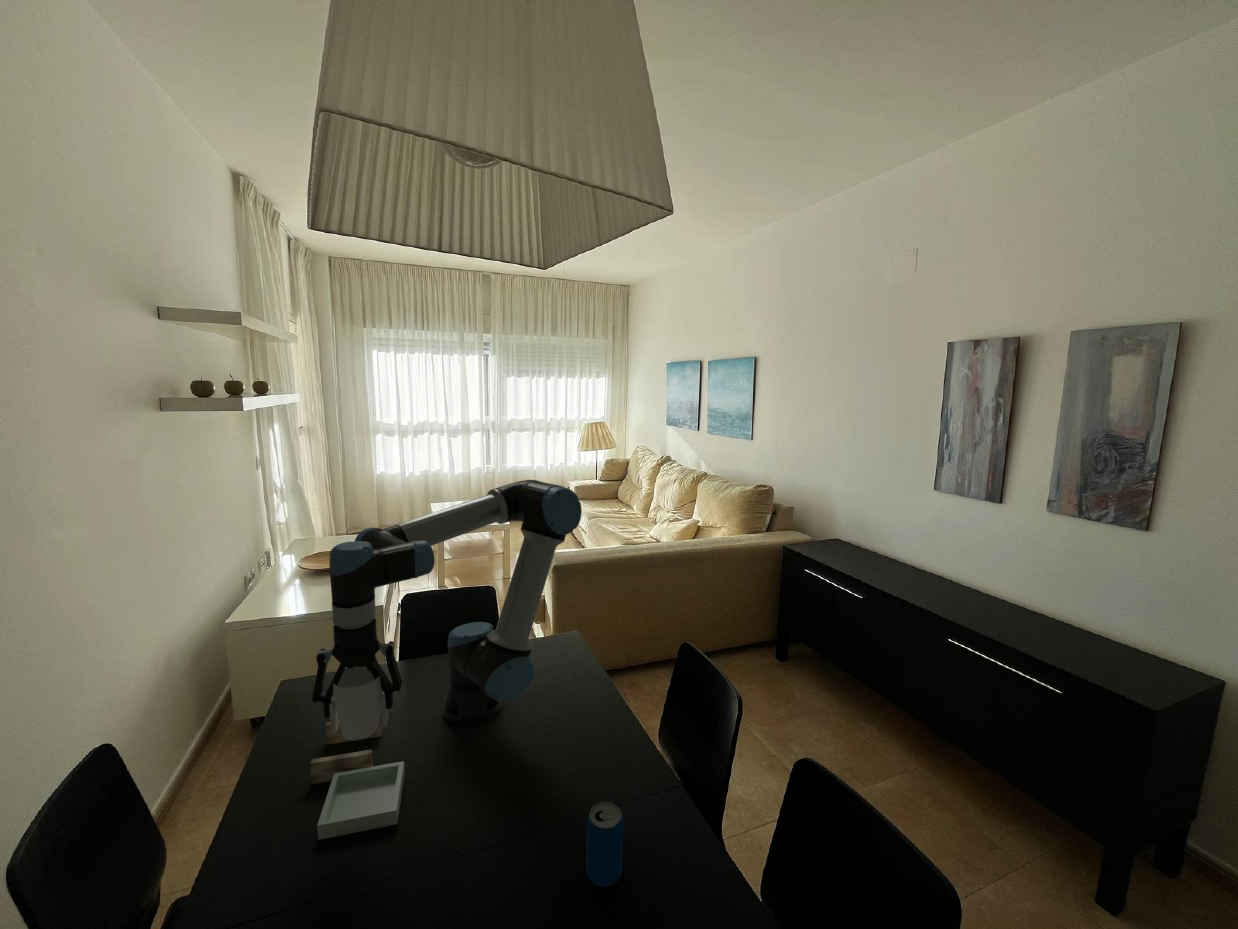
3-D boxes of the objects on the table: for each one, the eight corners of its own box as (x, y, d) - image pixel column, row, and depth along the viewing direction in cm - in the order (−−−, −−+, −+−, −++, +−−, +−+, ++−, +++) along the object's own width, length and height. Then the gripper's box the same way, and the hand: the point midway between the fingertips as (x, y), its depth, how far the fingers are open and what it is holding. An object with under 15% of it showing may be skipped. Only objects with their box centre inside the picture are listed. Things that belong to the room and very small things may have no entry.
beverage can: (585, 858, 97) (586, 801, 95) (620, 856, 97) (621, 799, 95) (586, 891, 90) (587, 830, 88) (623, 889, 91) (625, 829, 89)
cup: (365, 748, 100) (362, 691, 98) (324, 741, 102) (320, 684, 100) (394, 719, 109) (392, 666, 107) (356, 713, 110) (353, 660, 109)
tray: (404, 773, 116) (404, 761, 116) (397, 824, 103) (396, 810, 103) (335, 786, 112) (334, 773, 112) (318, 840, 99) (317, 825, 99)
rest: (381, 732, 130) (380, 714, 129) (371, 774, 116) (370, 753, 115) (327, 741, 126) (326, 722, 125) (311, 784, 113) (310, 763, 112)
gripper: (414, 607, 108) (418, 707, 112) (298, 618, 102) (306, 723, 105) (411, 623, 101) (415, 729, 104) (286, 636, 95) (294, 747, 98)
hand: (360, 726), depth 105 cm, fingers closed on cup, 9 cm apart
